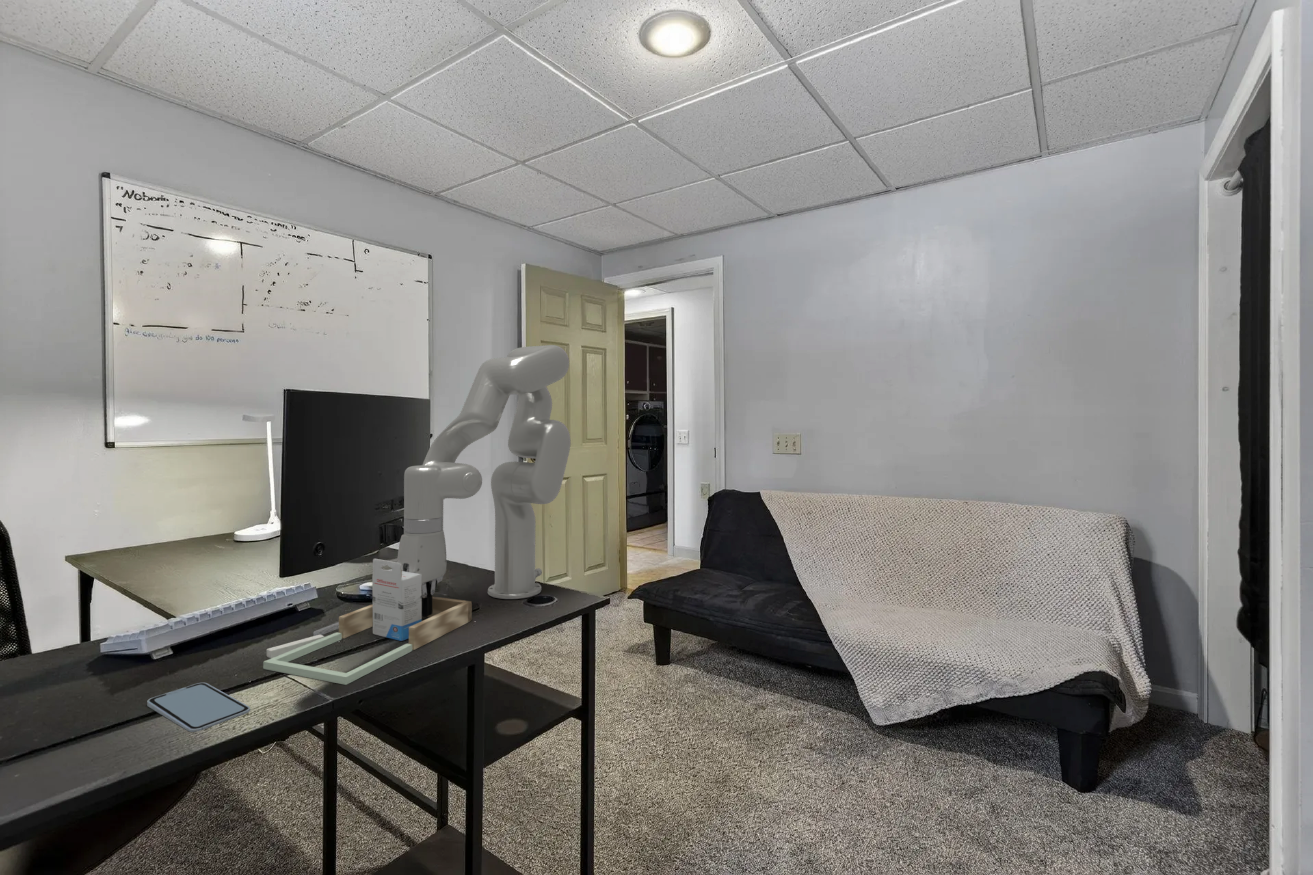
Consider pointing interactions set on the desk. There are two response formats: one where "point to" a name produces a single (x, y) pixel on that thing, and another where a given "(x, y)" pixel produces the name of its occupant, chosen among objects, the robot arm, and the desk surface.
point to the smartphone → (197, 706)
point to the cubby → (440, 622)
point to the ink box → (395, 600)
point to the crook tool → (326, 629)
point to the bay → (284, 666)
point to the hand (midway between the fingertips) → (423, 614)
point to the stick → (291, 646)
